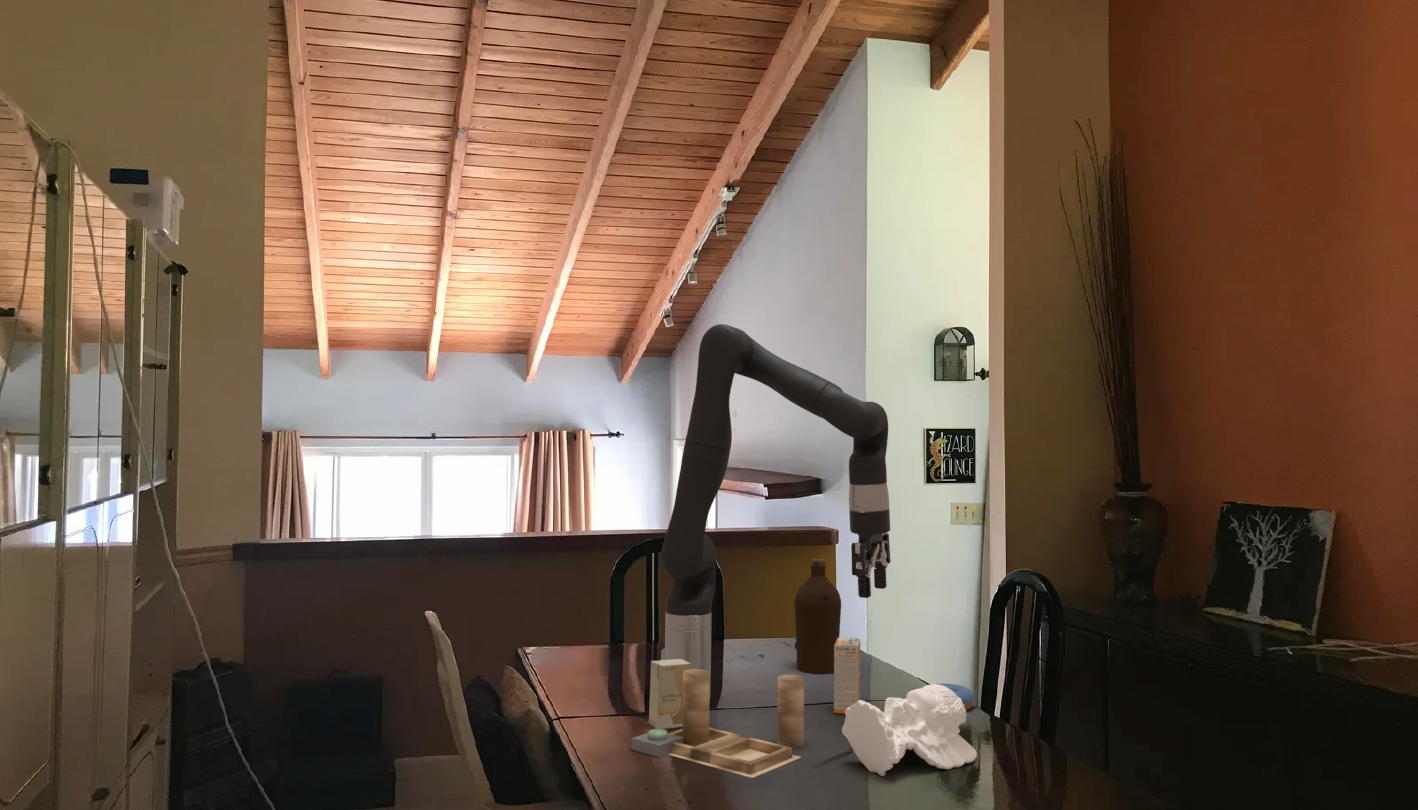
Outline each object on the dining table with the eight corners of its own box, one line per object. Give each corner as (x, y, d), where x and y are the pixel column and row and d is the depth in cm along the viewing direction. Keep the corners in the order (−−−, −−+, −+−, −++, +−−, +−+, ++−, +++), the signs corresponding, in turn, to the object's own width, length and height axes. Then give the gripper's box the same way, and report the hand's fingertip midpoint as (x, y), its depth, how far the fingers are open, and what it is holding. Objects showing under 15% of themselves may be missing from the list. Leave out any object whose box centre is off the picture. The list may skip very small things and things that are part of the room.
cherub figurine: (832, 694, 160) (923, 668, 171) (839, 770, 160) (930, 740, 170) (885, 711, 149) (979, 682, 159) (893, 793, 149) (987, 759, 159)
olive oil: (850, 669, 224) (851, 559, 225) (820, 676, 217) (820, 563, 218) (814, 662, 232) (815, 555, 233) (784, 668, 225) (785, 558, 226)
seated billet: (676, 745, 162) (677, 672, 162) (694, 739, 165) (694, 667, 166) (697, 751, 159) (698, 676, 159) (714, 745, 162) (715, 671, 163)
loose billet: (771, 750, 164) (772, 678, 164) (786, 744, 167) (787, 673, 168) (793, 756, 161) (794, 682, 161) (808, 750, 164) (809, 677, 165)
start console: (631, 756, 160) (631, 731, 160) (656, 748, 164) (656, 724, 164) (658, 764, 156) (659, 739, 156) (683, 755, 160) (683, 731, 161)
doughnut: (972, 714, 187) (971, 689, 188) (919, 712, 190) (918, 687, 191) (976, 707, 196) (975, 683, 197) (925, 704, 199) (924, 681, 200)
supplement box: (858, 715, 186) (859, 645, 187) (833, 713, 187) (833, 644, 188) (860, 704, 194) (861, 637, 195) (836, 702, 195) (836, 636, 196)
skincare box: (657, 736, 171) (659, 665, 171) (647, 730, 175) (648, 660, 175) (691, 732, 174) (692, 662, 174) (680, 725, 178) (681, 657, 178)
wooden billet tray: (644, 755, 160) (644, 738, 161) (695, 737, 170) (695, 721, 171) (752, 785, 147) (752, 767, 147) (801, 764, 157) (801, 747, 157)
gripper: (863, 502, 194) (867, 584, 194) (836, 511, 181) (840, 599, 181) (900, 503, 190) (904, 586, 190) (874, 512, 178) (878, 601, 178)
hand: (872, 592), depth 186 cm, fingers open, 8 cm apart
